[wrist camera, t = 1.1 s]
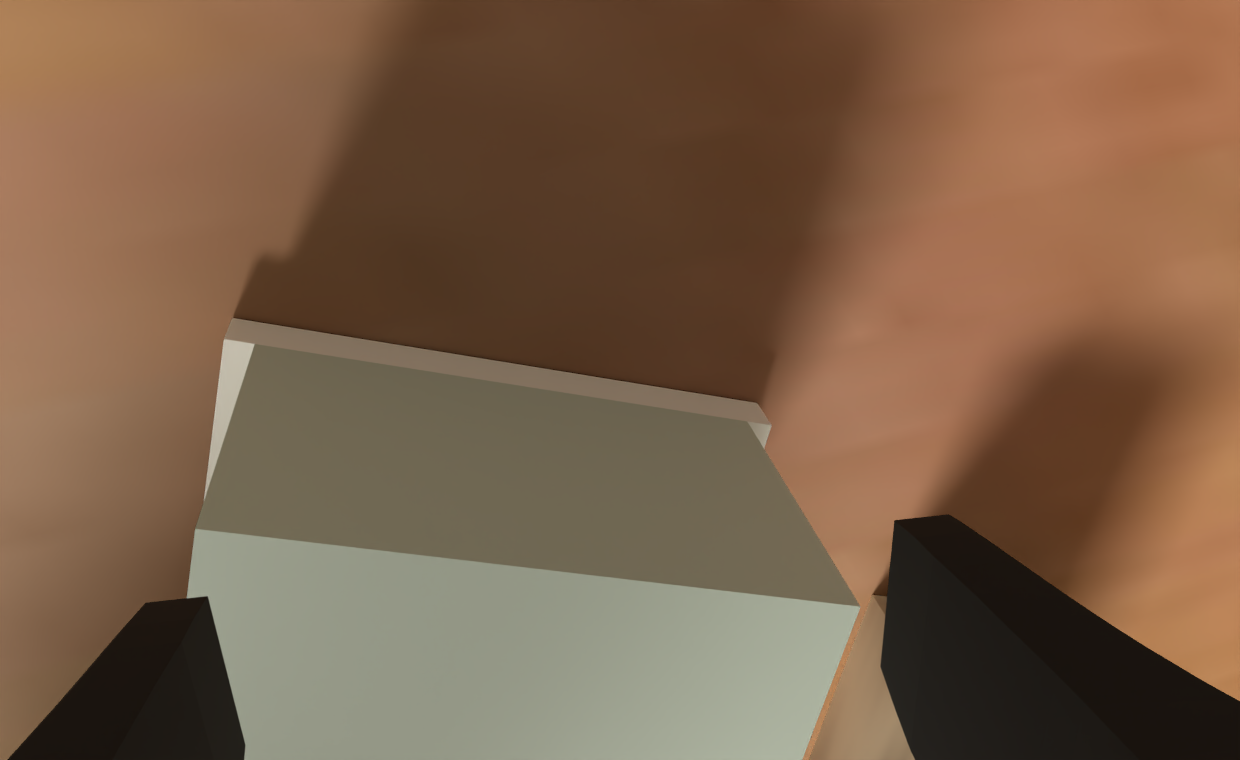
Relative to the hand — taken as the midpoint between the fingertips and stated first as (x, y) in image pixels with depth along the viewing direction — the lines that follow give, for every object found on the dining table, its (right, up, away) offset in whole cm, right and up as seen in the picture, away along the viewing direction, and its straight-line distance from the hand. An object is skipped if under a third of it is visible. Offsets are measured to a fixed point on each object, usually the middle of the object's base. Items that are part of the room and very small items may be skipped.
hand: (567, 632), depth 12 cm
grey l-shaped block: (-4, -5, +12) cm, 14 cm away
